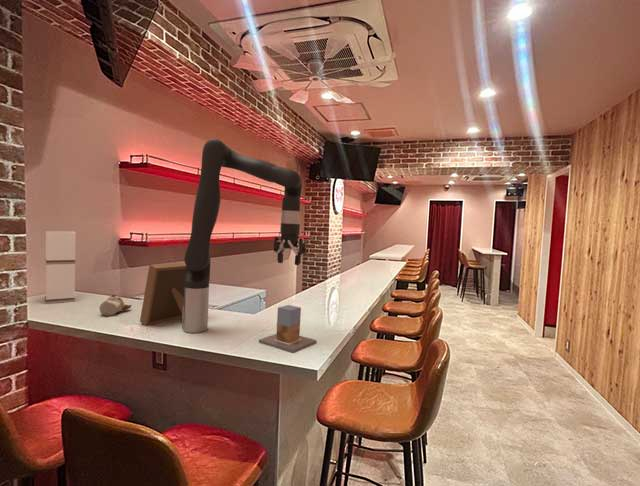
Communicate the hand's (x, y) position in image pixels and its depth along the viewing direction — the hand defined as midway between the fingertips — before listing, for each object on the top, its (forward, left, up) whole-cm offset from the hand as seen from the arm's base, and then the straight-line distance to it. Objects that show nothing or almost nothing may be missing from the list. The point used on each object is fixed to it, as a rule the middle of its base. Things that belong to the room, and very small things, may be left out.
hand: (288, 263), depth 136 cm
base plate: (+7, -7, -28) cm, 30 cm away
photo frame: (-46, -19, -28) cm, 57 cm away
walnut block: (+7, -7, -27) cm, 29 cm away
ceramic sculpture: (-77, -29, -28) cm, 87 cm away
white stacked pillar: (-119, -36, -28) cm, 128 cm away
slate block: (+7, -7, -21) cm, 23 cm away
